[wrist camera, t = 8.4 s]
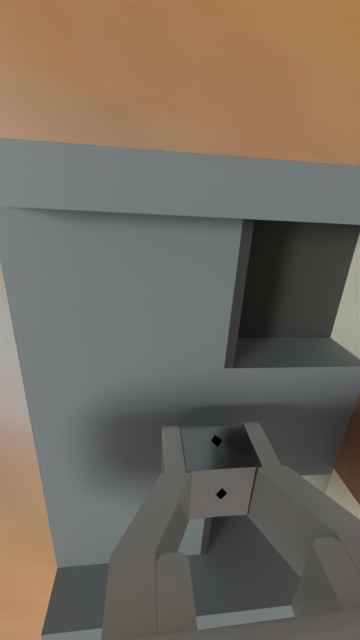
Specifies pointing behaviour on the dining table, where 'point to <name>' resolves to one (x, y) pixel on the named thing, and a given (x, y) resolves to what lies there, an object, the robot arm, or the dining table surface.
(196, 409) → the board
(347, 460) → the terracotta block
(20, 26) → the dining table surface
